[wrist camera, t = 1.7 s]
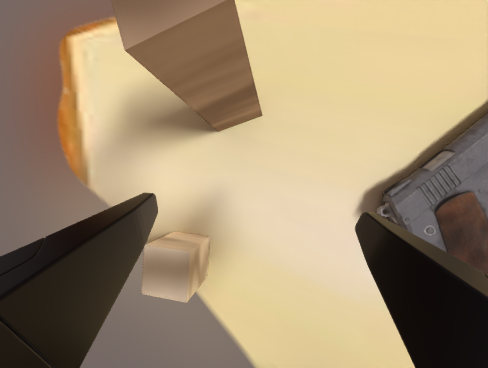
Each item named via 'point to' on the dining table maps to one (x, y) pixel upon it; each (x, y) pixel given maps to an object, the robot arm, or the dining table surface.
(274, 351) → the dining table surface
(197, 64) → the walnut block
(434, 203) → the handgun
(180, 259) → the maple block
